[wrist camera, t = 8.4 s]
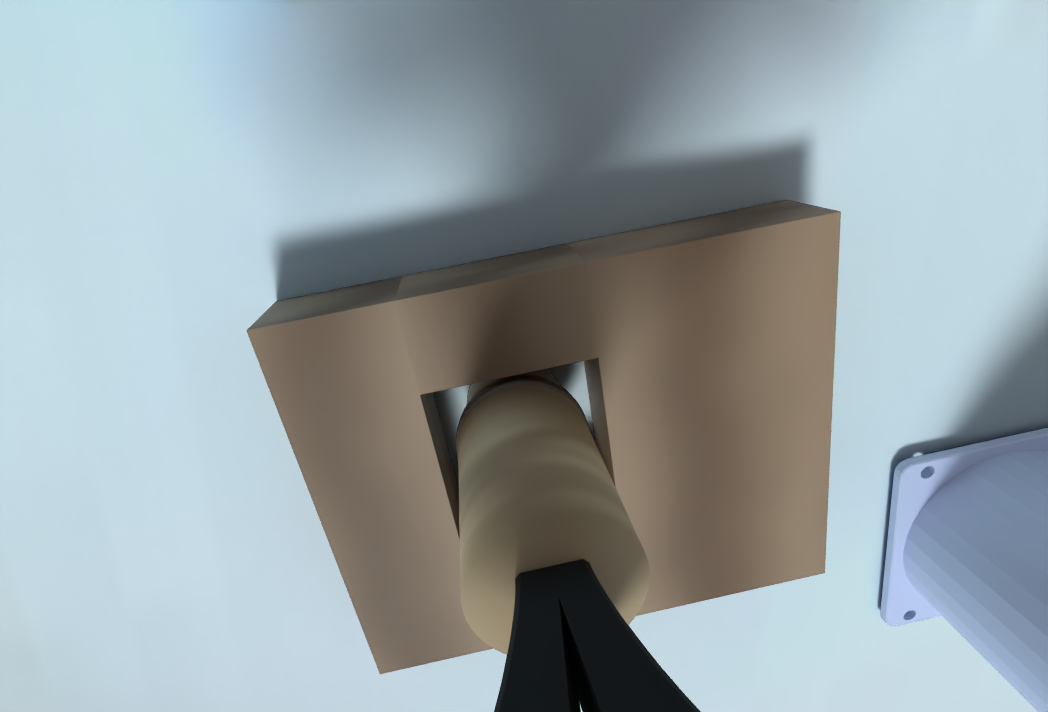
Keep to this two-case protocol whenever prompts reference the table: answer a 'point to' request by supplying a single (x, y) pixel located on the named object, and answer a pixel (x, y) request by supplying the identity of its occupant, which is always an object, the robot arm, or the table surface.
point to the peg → (536, 502)
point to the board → (615, 399)
